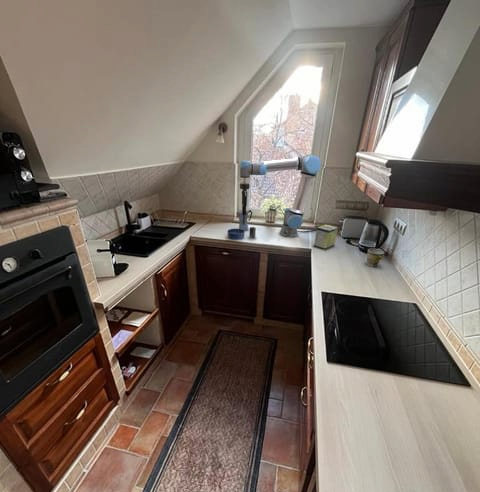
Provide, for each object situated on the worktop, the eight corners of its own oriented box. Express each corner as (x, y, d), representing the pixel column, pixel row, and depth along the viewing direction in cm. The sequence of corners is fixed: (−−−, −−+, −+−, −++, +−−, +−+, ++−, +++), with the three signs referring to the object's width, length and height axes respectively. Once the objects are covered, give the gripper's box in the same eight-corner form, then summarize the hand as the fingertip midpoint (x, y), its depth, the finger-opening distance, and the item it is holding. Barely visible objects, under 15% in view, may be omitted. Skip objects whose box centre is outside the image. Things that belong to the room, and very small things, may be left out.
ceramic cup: (361, 261, 180) (365, 248, 175) (374, 261, 181) (378, 248, 176) (370, 269, 169) (375, 256, 164) (385, 269, 170) (389, 255, 165)
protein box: (334, 245, 206) (338, 226, 199) (324, 250, 197) (329, 230, 189) (322, 242, 213) (326, 224, 205) (313, 246, 203) (316, 227, 195)
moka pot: (234, 229, 235) (234, 207, 225) (248, 228, 241) (249, 206, 231) (238, 232, 228) (238, 210, 218) (253, 231, 234) (254, 208, 223)
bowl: (242, 235, 223) (243, 228, 220) (245, 240, 210) (245, 233, 207) (226, 235, 221) (226, 228, 218) (228, 241, 209) (228, 233, 206)
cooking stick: (244, 224, 211) (245, 202, 202) (245, 225, 209) (245, 202, 200) (242, 224, 211) (242, 202, 202) (242, 225, 209) (243, 202, 200)
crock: (254, 237, 219) (255, 226, 214) (255, 239, 214) (256, 228, 210) (248, 237, 218) (249, 227, 214) (249, 239, 214) (250, 228, 209)
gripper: (238, 181, 200) (238, 212, 212) (241, 184, 187) (240, 216, 199) (248, 181, 201) (247, 212, 212) (251, 184, 188) (250, 216, 200)
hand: (244, 214), depth 206 cm, fingers closed on cooking stick, 2 cm apart
